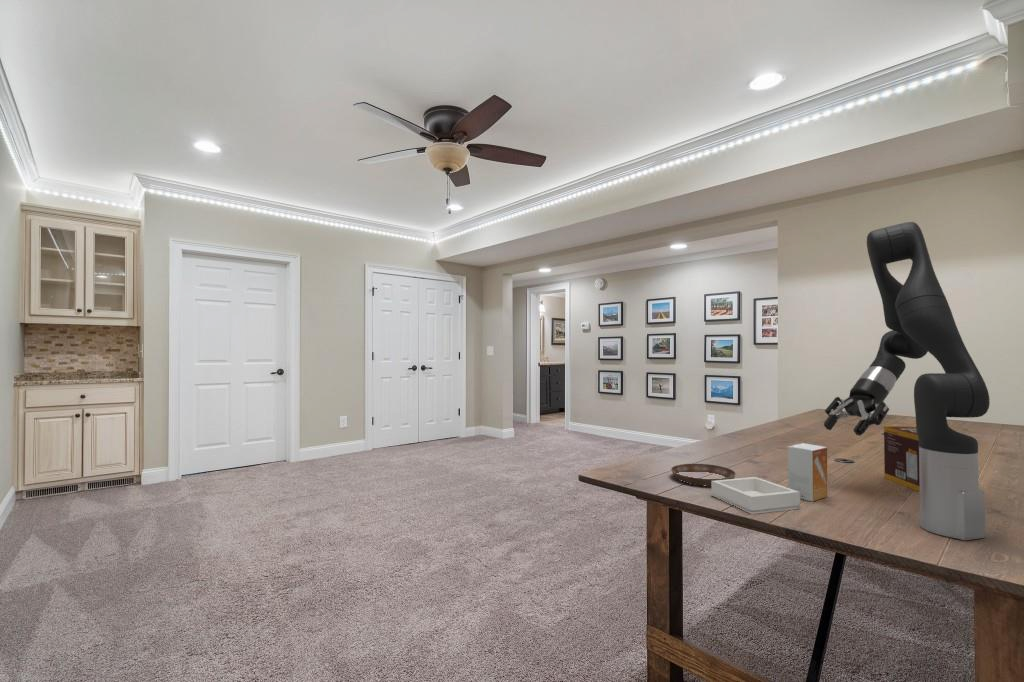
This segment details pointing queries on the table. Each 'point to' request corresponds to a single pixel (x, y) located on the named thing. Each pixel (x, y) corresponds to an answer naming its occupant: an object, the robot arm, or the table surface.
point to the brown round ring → (701, 468)
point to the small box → (808, 471)
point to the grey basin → (755, 495)
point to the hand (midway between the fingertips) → (841, 430)
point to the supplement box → (902, 455)
